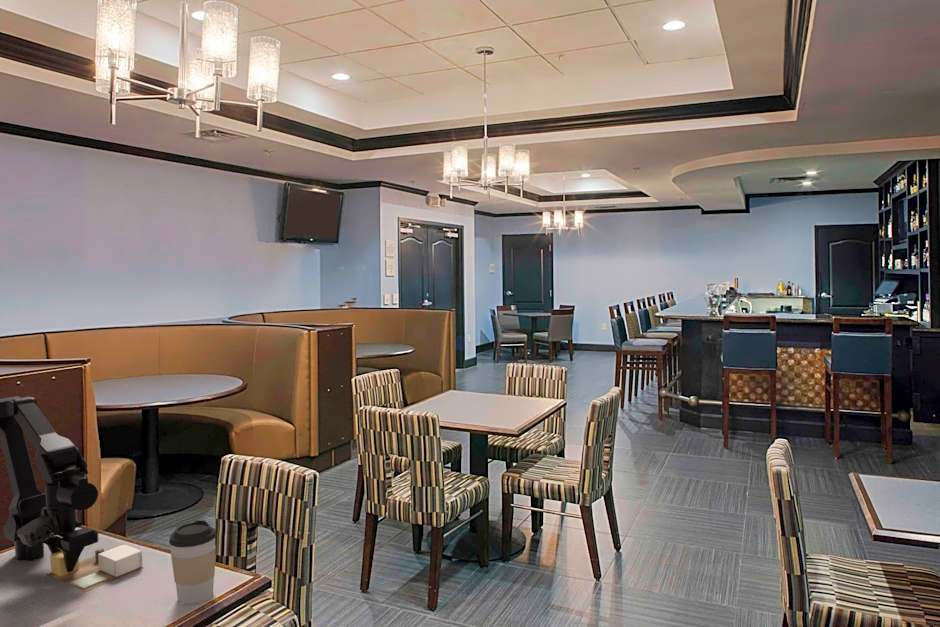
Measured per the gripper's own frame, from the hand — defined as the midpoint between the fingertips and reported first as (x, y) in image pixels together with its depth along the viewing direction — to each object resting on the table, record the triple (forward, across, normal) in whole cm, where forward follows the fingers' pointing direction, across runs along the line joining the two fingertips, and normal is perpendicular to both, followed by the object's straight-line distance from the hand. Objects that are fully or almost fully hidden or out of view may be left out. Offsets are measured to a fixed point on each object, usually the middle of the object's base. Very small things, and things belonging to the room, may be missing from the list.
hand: (65, 569), depth 149 cm
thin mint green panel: (+1, +10, 0) cm, 10 cm away
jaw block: (0, 0, 0) cm, 0 cm away
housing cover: (0, +10, +7) cm, 12 cm away
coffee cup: (+2, +34, +9) cm, 35 cm away
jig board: (+1, +6, +4) cm, 7 cm away
